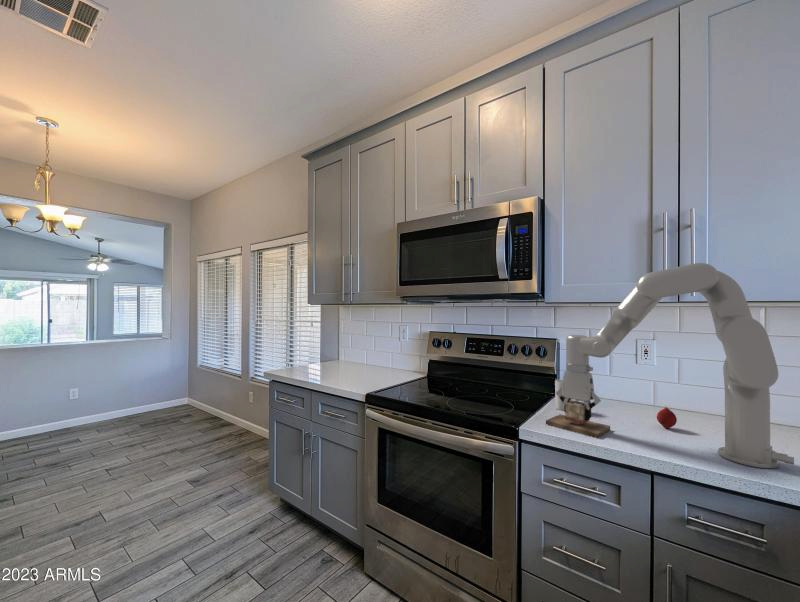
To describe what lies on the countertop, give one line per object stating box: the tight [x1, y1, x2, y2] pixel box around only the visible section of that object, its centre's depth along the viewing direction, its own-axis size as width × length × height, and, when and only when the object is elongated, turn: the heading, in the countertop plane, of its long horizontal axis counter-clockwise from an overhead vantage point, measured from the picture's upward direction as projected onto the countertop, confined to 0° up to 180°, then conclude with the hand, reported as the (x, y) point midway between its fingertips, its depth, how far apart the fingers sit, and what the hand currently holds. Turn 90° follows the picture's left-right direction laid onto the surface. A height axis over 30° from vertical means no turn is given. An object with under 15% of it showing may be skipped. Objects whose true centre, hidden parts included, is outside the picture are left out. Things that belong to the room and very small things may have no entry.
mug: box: [554, 379, 580, 412], centre depth 152 cm, size 10×7×12 cm, turn 52°
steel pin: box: [571, 403, 583, 425], centre depth 130 cm, size 3×3×7 cm
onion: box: [656, 406, 678, 430], centre depth 129 cm, size 6×6×8 cm
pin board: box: [545, 413, 611, 439], centre depth 130 cm, size 18×12×2 cm, turn 41°
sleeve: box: [564, 399, 591, 424], centre depth 130 cm, size 6×6×6 cm
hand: (577, 416), depth 130 cm, fingers closed on sleeve, 6 cm apart
